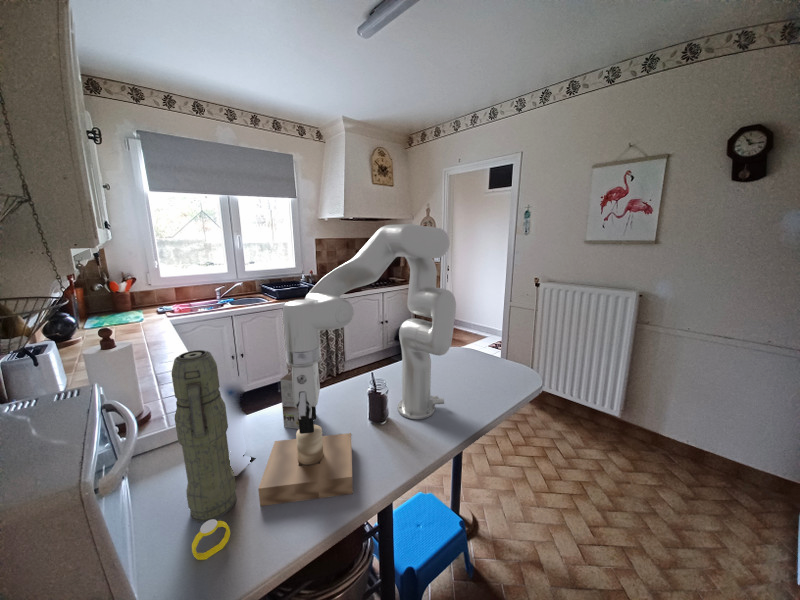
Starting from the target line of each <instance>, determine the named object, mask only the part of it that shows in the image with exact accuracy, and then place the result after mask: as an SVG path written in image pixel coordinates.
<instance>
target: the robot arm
mask: <svg viewBox="0 0 800 600" xmlns="http://www.w3.org/2000/svg"><path fill="white" fill-rule="evenodd" d="M449 249H450V237H449V235H448V233H447V232H446V231H445V229H443V228H441V227H433V226H425V225H418V224H414V223H413V224H410V223H407V224H406V223H405V224H404V223H403V224H402V223H401V224H386V225H384V226H383V225H382V226H381V227H380V228H378V230H376V231H375V232H374V233H373V235H372V236H371V237H370V238H369V239H368V241H367V242H365V244H364V245H363V246H362V247H361V249H359V250H358V252H357V253H356V254H355V255H354V256H353V257H352V258H351V259H349V260H348V261H346V262H344V263H343V264H341V265H339V266H338V267H336V268H334V269H333V270H332V271H330V272H329V273H327V274H326V275H325V274H324V276H323V277H322V278H321V279H319V281H318V282H317V283H316V284H315V285H314V286H313V287H312V288H311V289H310V290H309V292H308V293H306V295H305V297H304V299H294V300H289V301H287V302H285V303H284V305H283V306H282V318H283V319H282V320H283V332H284V346H285V358H286V359H285V360H286V364H287V365H288V366H290V367H291V371H292V386H293V400H294V406H295V408H298V406H299V429H298V430H299V431H300V434H304V433H313V432H314V425H315V421H316V419H317V410H316V409H317V405H318V404H319V397H320V391H321V388H320V387H321V385H320V375H319V365H318V364H319V362H320V361H321V359H322V357H321V342H320V341H321V339H320V338H321V337H320V332H321V331H327V330H328V331H329V330H338V329H342V328H344V327H346V326H348V325H349V324H350V323H351V322H352V321H353V319H354V314H355V313H354V312H355V310H354V306H353V305H352V303H351V302H350V301H349V300H347V299H346V298H344V297H341V296H343V295H344V294H345V293H348V292H349V291H351V290H353V289H357V288H360V287H365V286H367V285H370V284H372V283H375V282H377V281H378V280H379V279H380V278H381V277H382V275H383V274H384V272H386V270H387V269H388V267H389V266H390V265H391V264H392V263H393V261H394V260H395V259H396V258H398V257H401V258H402V257H403V258H405V260H406V261H407V263H408V267H409V282H408V290H407V291H408V293H407V301H406V302H407V305H406V306H407V309H408V311H409V312H410V313H412V314H414V315H417V316H422V317H426V318H430V319H431V320H432V321H428V320H425V319H420V318H408V319H406V320H404V321H403V322H402V323H401V324H400V328H399V330H398V336H399V343H400V348H401V358H402V359H401V361H402V363H401V364H402V365H401V368H402V370H401V373H402V374H401V376H402V378H401V379H402V380H401V382H402V383H401V384H402V385H401V398H402V399H401V400H400V401H399V402H398V403H397V412H398V413H399V414H400V415H401V416H403V417H405V418H407V419H411V420H423V419H427V418H430V417H431V416H433V414H434V413H435V409H436V407H435V406H436V405H444V404H445V399H444V397H442V398H441V397H440V398H439V395H434V396H433V395H431V384H432V381H431V380H432V376H431V375H432V359H431V355H434V356H438V357H441V356H444V355H445V354H447V353H448V351H449V350H450V348H451V347H452V346H451V345H452V341H453V336H454V330H455V329H454V326H455V319H456V312H457V302H456V297H455V294H454V293H452V291H450V290H449V289H446V288H440V287H437V279H438V278H437V276H438V269H437V266H436V263H435V261H434V259H440V258H442V257H443V256H445V255H446V254H447V252H448V251H449ZM430 354H431V355H430Z"/></svg>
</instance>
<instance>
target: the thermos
mask: <svg viewBox="0 0 800 600" xmlns="http://www.w3.org/2000/svg"><path fill="white" fill-rule="evenodd" d="M171 379H172V380H171V381H172V387H173V392H174V398H175V399H176V402H175V403H176V410H175V414H174V424H175V431H176V436H177V441H178V444H179V445H181V448H182V453H183V461H184V466H185V474H186V479H187V485H186V489H185V491H186V493H185V494H186V501H187V505H188V509H189V511H190V518H191V517H192V518H191V519H192V520H193V521H194V520H195V521H194V522H196V521H197V522H196V523H200V522H206V521H208V520H211V519H215V520H218V519H221V518H222V517H223V516H225V515H226V514H227V513H229V511H230V510H231V509H233V507H234V506H235V503H236V501H237V493H236V491H237V490H236V489H237V486H236V478H235V476H234V472H233V470H232V468H231V466H230V458H229V455H230V454H229V452H230V451H229V442H228V436H227V431H228V429H229V424H228V417H227V407H226V403H225V401H224V399H223V397H222V395H221V391H220V390H219V389H220V379H219V369H218V364H217V362H216V359H215V358H214V356H213V355H212V353H211V352H210V351H207V350H203V349H202V350H201V349H198V350H197V349H196V350H190V351H186V352H183V353H181V354H179V355H178V356H176V357H175V358H174V361H173V364H172V369H171Z"/></svg>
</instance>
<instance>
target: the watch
mask: <svg viewBox="0 0 800 600" xmlns="http://www.w3.org/2000/svg"><path fill="white" fill-rule="evenodd" d="M222 527H223V528H225V532H224V536H223V538H222V539H221V541H220V542H219V543H218V544H216V545H214V546H213V547H212V548H209V549H208V550H207V551H205V552H197V547H198V545H199V542H200V541H201V540H202V539H203V538H204V537H207V536H210V535H212V534H213V533H215V532H216V530H217V529H218V528H222ZM230 529H231V528H230V526H229V525H228V524H227V522H225V521H224V520H218V519H211V520H208V521H206V522H205V523H203V524H202V525H201V527H200V529H199V531H198V533H197V534H196V535H195V536H194V538H193V541H192V543H191V552H192V554H193V557H194V558H195V559H196V560H199V561H205V560H207V559H208V558H210V557H212V556H213V555H215V554H216V553H218V552H219V551H221V550H222V549H224V547H225V546H226V545H227V543H228V542H229V540H230V537H231V536H230V535H231V530H230Z"/></svg>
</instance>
